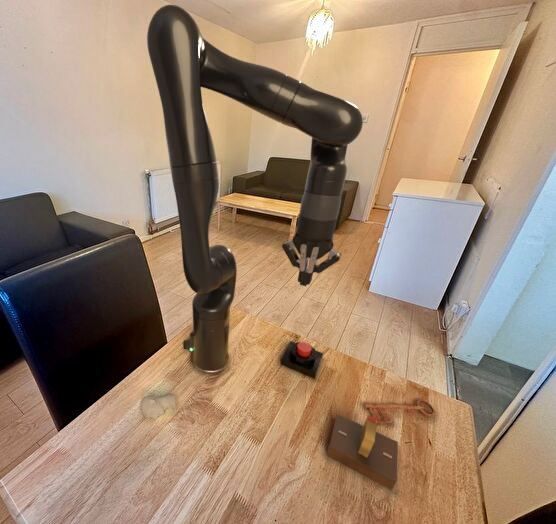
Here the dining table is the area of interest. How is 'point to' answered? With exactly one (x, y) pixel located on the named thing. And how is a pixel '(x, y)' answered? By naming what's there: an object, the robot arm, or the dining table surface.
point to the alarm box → (301, 360)
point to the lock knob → (367, 436)
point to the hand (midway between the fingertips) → (303, 284)
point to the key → (383, 406)
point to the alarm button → (303, 349)
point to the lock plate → (346, 452)
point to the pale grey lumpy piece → (156, 405)
